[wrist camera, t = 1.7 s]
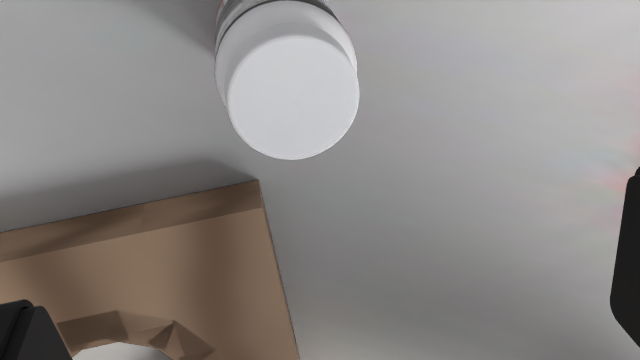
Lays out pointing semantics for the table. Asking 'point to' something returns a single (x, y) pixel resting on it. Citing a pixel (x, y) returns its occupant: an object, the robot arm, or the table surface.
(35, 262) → the socket block
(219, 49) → the pill bottle
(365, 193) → the table surface
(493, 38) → the table surface
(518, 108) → the table surface
